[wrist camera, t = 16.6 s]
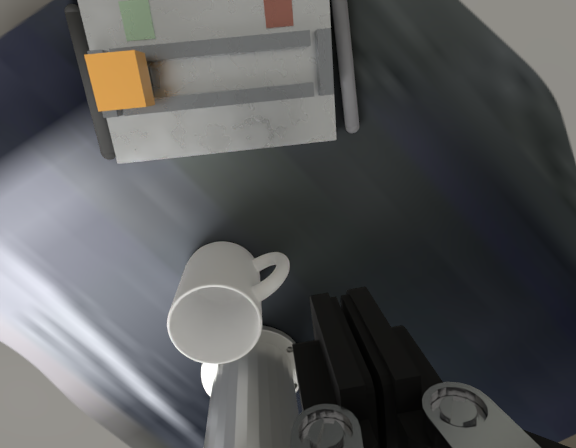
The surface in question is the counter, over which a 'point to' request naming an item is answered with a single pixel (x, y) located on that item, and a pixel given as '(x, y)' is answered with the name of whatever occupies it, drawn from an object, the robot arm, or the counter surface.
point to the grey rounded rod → (345, 64)
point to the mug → (222, 302)
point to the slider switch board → (219, 74)
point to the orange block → (120, 80)
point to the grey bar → (88, 79)
